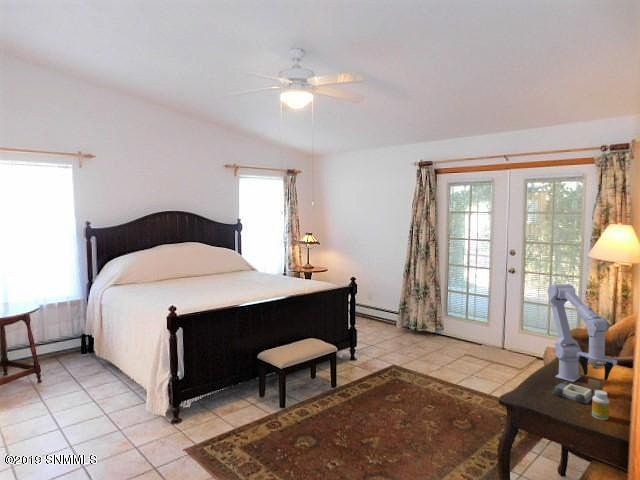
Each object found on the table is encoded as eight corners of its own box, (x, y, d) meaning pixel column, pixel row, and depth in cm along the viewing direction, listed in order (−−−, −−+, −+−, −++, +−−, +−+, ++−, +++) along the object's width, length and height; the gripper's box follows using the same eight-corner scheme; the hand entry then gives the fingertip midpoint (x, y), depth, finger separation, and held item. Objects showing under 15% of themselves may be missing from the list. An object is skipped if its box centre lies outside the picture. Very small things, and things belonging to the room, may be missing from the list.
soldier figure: (610, 368, 212) (600, 365, 206) (602, 372, 215) (591, 370, 208) (601, 354, 217) (590, 351, 211) (592, 358, 220) (581, 355, 214)
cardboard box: (590, 390, 185) (591, 376, 184) (602, 393, 181) (603, 379, 181) (587, 393, 182) (588, 379, 181) (599, 396, 178) (599, 382, 178)
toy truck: (561, 386, 188) (561, 379, 188) (595, 396, 178) (595, 388, 178) (551, 394, 180) (551, 387, 180) (585, 404, 171) (585, 397, 170)
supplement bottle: (602, 421, 157) (603, 396, 156) (588, 415, 162) (589, 390, 161) (611, 418, 159) (612, 393, 159) (597, 412, 164) (598, 388, 164)
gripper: (574, 344, 183) (573, 374, 184) (614, 352, 172) (612, 384, 173) (580, 340, 187) (579, 370, 188) (618, 348, 177) (617, 379, 177)
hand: (595, 376), depth 181 cm, fingers open, 7 cm apart
